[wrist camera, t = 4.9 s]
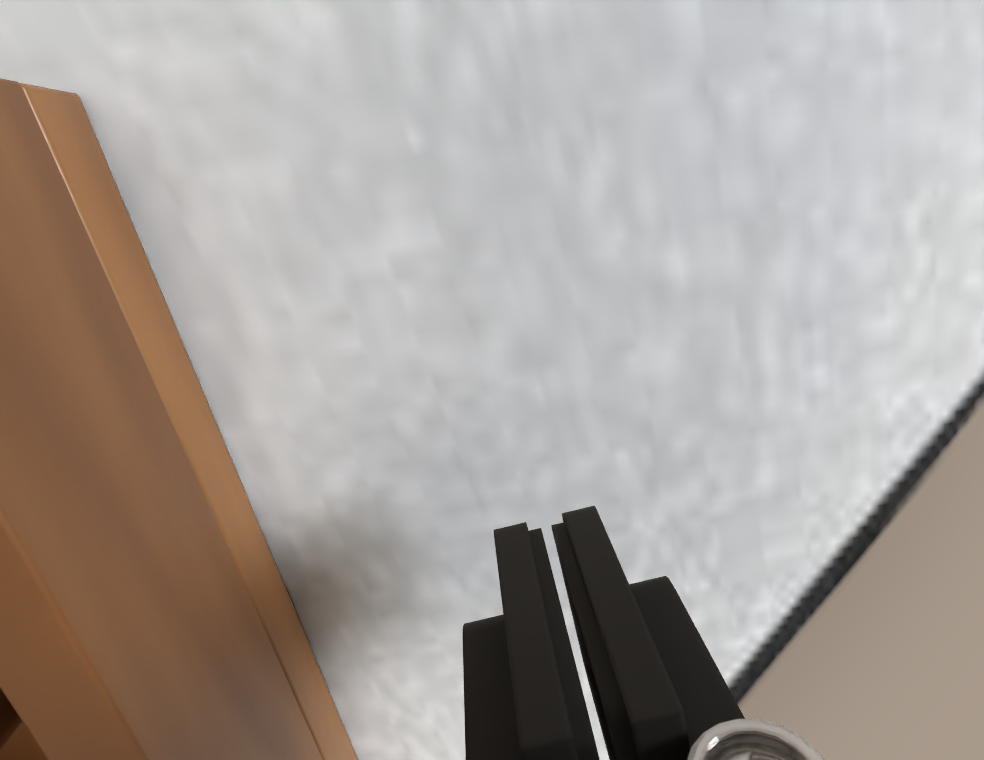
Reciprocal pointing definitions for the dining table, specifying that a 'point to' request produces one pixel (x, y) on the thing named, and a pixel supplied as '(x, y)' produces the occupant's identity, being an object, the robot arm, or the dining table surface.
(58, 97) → the rack
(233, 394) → the dining table surface
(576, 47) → the dining table surface
